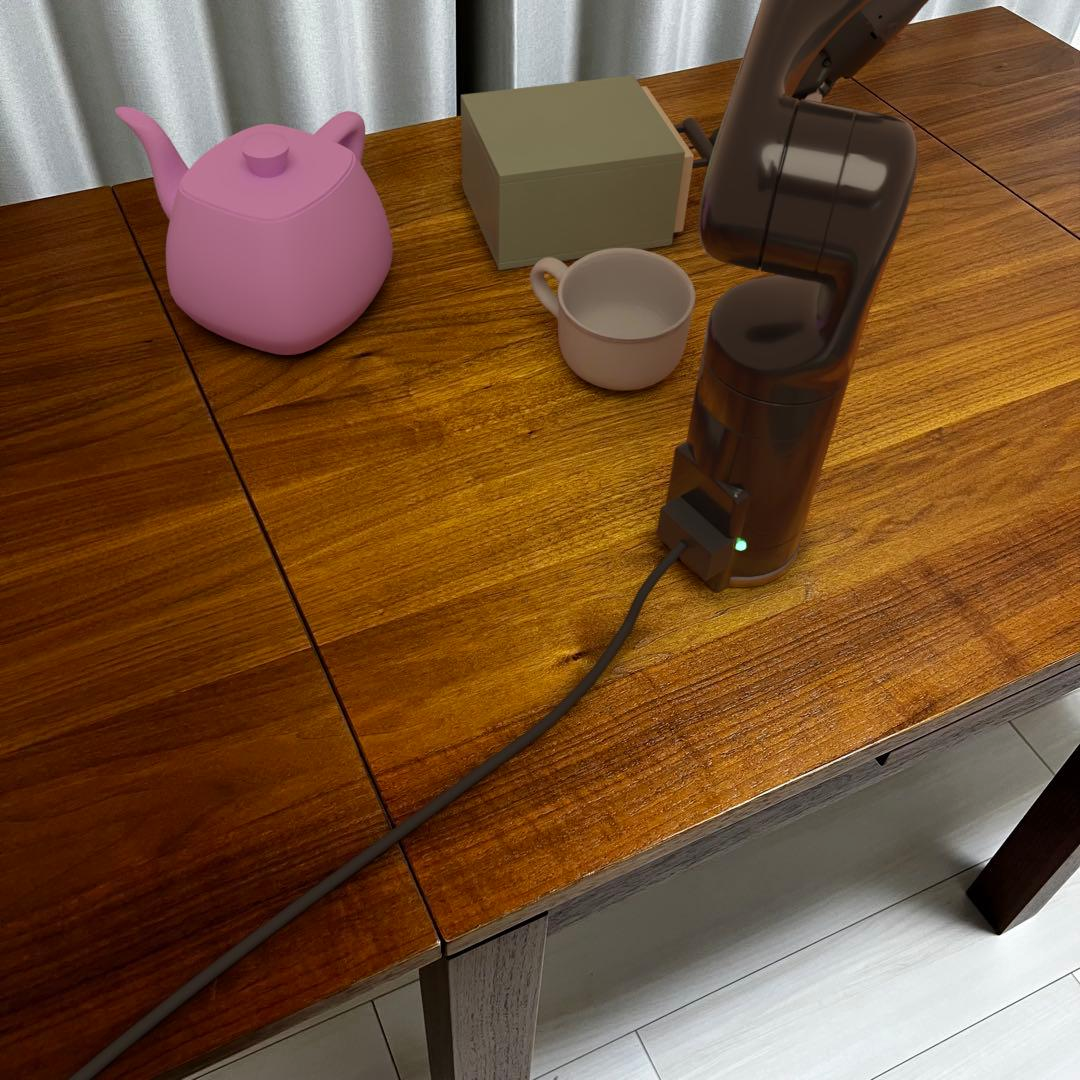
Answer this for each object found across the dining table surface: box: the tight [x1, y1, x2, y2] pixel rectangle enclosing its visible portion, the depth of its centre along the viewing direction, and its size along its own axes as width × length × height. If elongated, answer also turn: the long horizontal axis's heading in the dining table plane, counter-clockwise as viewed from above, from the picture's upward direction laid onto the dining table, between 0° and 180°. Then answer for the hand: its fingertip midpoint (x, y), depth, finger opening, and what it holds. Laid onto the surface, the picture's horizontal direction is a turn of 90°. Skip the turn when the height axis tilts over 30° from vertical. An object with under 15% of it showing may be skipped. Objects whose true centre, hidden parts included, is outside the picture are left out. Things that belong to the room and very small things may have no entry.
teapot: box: [115, 106, 394, 356], centre depth 99 cm, size 23×21×15 cm
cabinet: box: [460, 74, 685, 271], centre depth 109 cm, size 17×14×10 cm
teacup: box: [529, 248, 696, 391], centre depth 96 cm, size 14×11×8 cm
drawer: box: [641, 86, 714, 234], centre depth 110 cm, size 20×12×8 cm, turn 106°
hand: (714, 152), depth 112 cm, fingers closed
